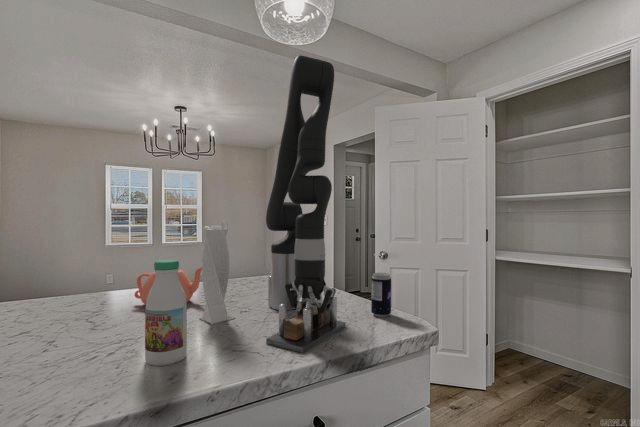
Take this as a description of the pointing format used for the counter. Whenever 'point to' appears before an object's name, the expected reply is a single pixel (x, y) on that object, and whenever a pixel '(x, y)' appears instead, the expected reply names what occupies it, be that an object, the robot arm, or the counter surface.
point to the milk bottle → (166, 316)
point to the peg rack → (306, 329)
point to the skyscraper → (215, 274)
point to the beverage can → (381, 294)
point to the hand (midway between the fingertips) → (309, 326)
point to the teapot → (184, 281)
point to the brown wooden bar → (301, 325)
